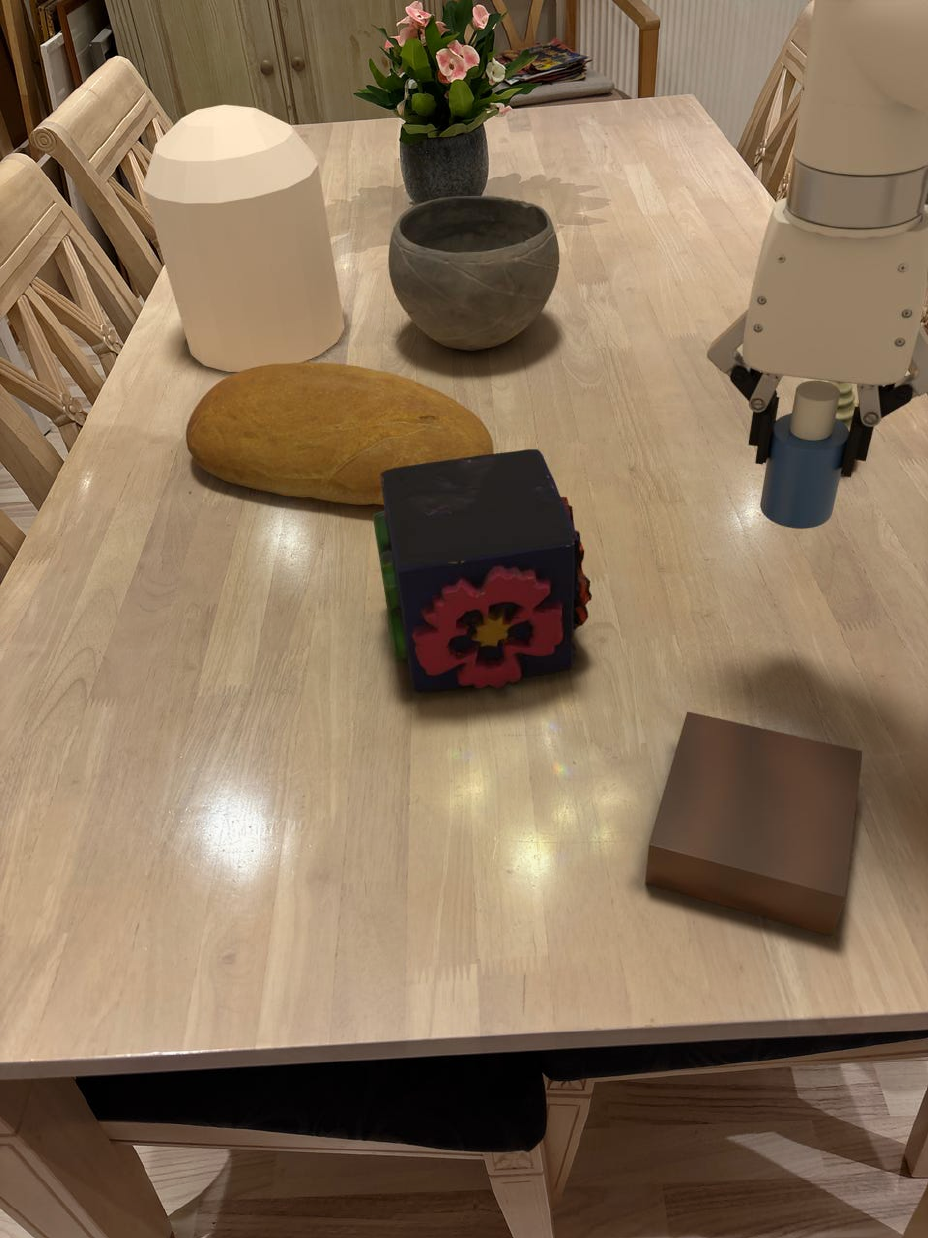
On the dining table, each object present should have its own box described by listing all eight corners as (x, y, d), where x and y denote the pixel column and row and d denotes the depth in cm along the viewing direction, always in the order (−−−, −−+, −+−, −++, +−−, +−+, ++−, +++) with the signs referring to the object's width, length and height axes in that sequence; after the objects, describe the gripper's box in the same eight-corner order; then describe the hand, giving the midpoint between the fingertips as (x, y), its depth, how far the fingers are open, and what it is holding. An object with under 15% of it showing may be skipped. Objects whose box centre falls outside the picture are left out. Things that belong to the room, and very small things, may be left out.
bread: (466, 535, 95) (459, 448, 88) (162, 484, 105) (135, 402, 98) (522, 437, 107) (519, 353, 100) (246, 400, 117) (226, 322, 111)
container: (301, 381, 120) (252, 138, 101) (157, 362, 126) (85, 131, 107) (371, 307, 134) (339, 83, 115) (238, 294, 140) (187, 79, 122)
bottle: (836, 494, 71) (862, 376, 65) (827, 534, 68) (854, 414, 61) (766, 483, 73) (784, 368, 66) (754, 522, 69) (773, 404, 63)
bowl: (528, 386, 115) (525, 261, 105) (369, 364, 122) (352, 245, 112) (580, 309, 129) (581, 193, 119) (434, 294, 136) (424, 183, 126)
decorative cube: (600, 677, 79) (605, 543, 70) (403, 711, 78) (381, 579, 69) (556, 561, 91) (555, 432, 81) (383, 589, 89) (361, 461, 80)
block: (849, 791, 69) (862, 750, 66) (831, 936, 61) (845, 898, 58) (682, 751, 73) (687, 711, 70) (644, 883, 65) (648, 844, 62)
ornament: (805, 427, 104) (822, 341, 98) (865, 437, 102) (886, 350, 96) (790, 466, 99) (806, 378, 93) (852, 478, 97) (874, 388, 90)
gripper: (1021, 174, 55) (940, 449, 67) (718, 160, 60) (693, 416, 73) (1023, 223, 50) (935, 510, 62) (692, 202, 55) (670, 470, 68)
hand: (805, 457), depth 67 cm, fingers closed on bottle, 5 cm apart
